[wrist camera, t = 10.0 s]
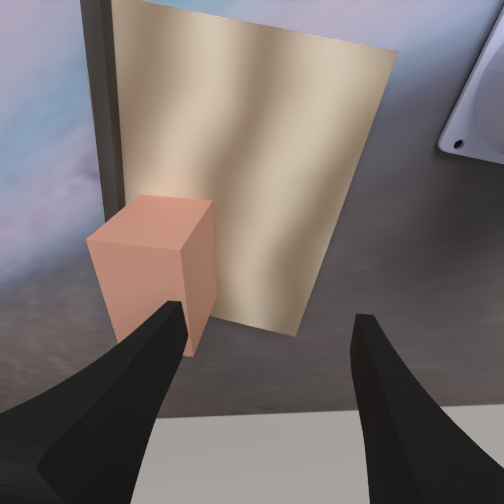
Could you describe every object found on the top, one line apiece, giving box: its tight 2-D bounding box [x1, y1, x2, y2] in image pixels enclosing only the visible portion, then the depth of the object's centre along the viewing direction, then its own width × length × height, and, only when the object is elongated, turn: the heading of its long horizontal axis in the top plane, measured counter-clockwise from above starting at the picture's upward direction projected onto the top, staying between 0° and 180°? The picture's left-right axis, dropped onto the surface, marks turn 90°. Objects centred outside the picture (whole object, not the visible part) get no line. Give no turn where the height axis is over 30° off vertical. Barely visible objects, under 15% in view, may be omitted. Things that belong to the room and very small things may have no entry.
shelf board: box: [80, 0, 398, 337], centre depth 21 cm, size 15×20×2 cm
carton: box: [86, 194, 217, 357], centre depth 20 cm, size 5×8×6 cm, turn 178°
